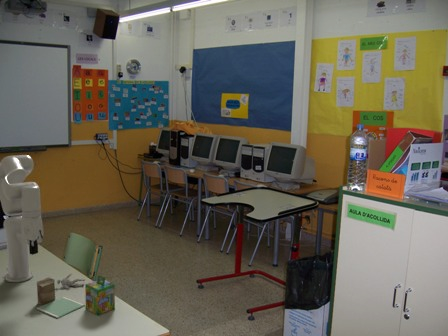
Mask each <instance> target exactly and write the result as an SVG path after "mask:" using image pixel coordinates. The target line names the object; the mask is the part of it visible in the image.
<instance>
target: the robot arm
mask: <svg viewBox="0 0 448 336" xmlns="http://www.w3.org/2000/svg"><path fill="white" fill-rule="evenodd" d="M34 167H35V166H34V160H33V158H32V157H31V156H30V155H27V154H19V155H18V154H17V155H8V156H5V157H3V158H2V159H1V160H0V203H1V208H2V211H3V213H4V214H5V216H8V217H7V218H5V220H4V221H3V229H4V234H5V239H6V249H7V252H6V253H7V265H8V266H7V268H5V270H6V271H7V273H8V274H6V275H5V281H6V282H10V283H21V282H26V281H28V280H31V279H32V278H33V277H34V273H33V271H31V270H30V260H29V259H30V258H29V257H30V255H31V256H33V255H36V254H38V253H39V244H40V243H42V242H43V238H44V225H43V219H42V207H41V206H42V205H41V189H40V186H39V185H38V183H37V182H34V181H26V182H24V181H25V180H26V179H27V177H28V176H29V175H30V174H31V173H32V171H34Z"/></svg>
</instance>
